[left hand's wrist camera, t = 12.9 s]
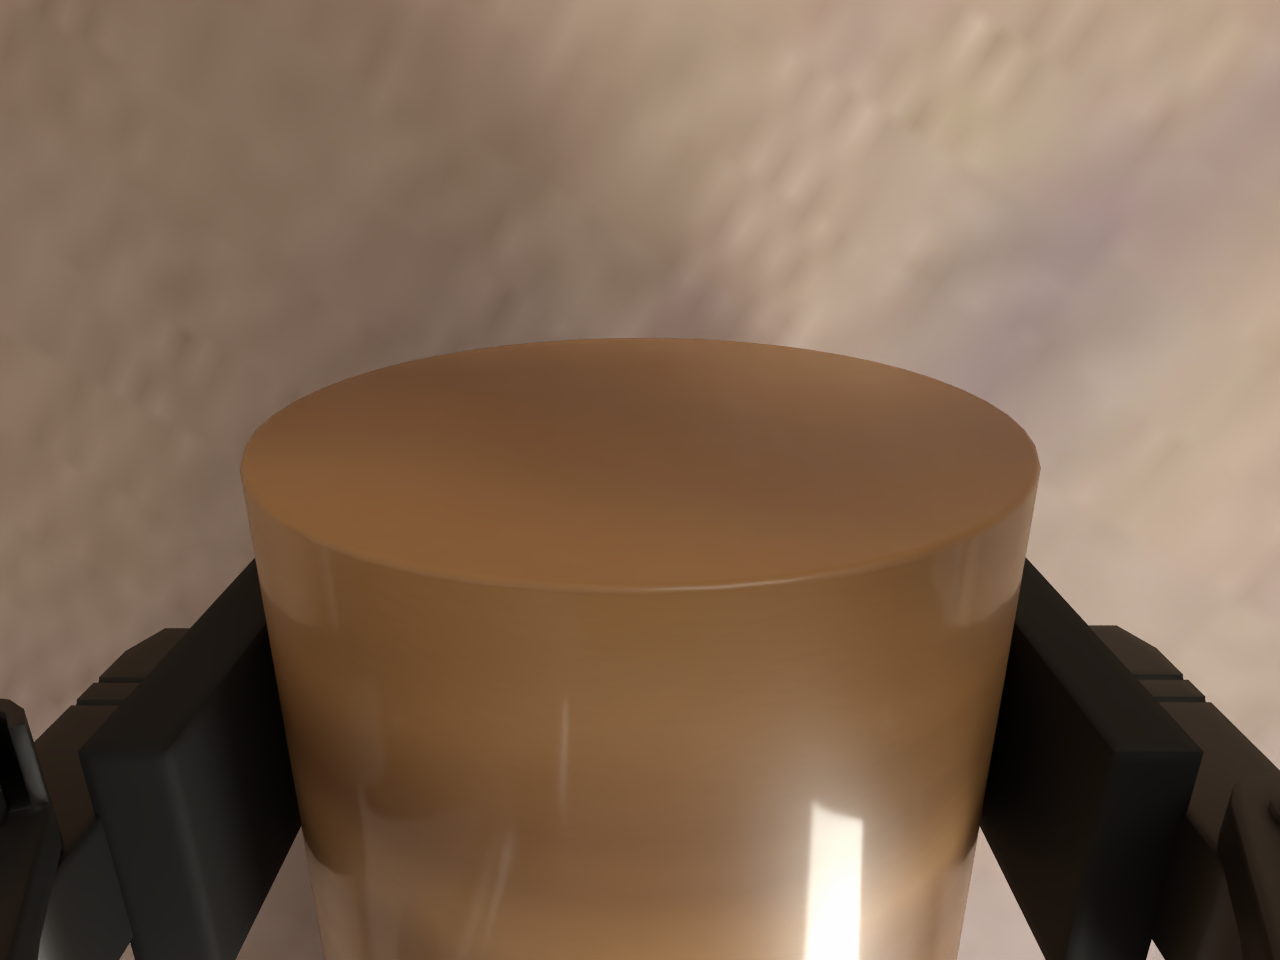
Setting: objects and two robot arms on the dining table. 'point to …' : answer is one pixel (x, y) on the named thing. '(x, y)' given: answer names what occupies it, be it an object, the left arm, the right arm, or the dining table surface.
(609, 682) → the rod
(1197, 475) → the dining table surface
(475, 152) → the dining table surface
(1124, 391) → the dining table surface
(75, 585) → the dining table surface
